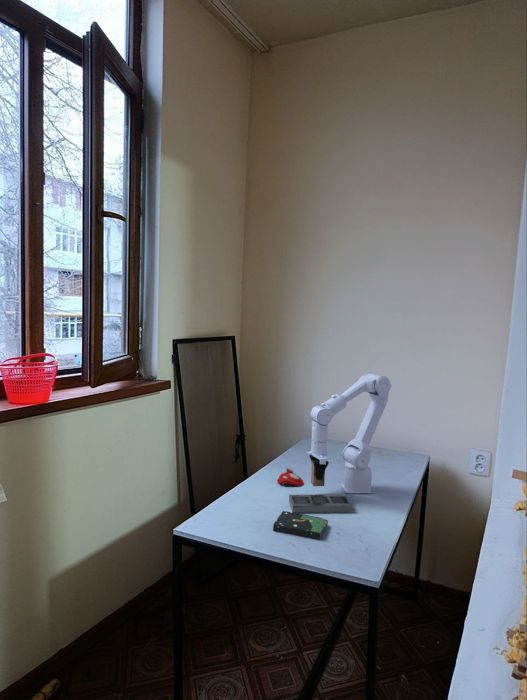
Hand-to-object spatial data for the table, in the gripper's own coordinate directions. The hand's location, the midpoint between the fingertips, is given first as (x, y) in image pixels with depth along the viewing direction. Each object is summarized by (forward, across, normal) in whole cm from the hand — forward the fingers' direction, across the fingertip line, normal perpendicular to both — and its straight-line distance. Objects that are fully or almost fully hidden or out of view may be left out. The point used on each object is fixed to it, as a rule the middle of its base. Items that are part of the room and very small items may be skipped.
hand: (318, 477), depth 174 cm
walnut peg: (+2, 0, 0) cm, 2 cm away
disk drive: (+7, +25, -10) cm, 28 cm away
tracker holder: (+7, -14, -7) cm, 17 cm away
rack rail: (+7, +10, -1) cm, 12 cm away
